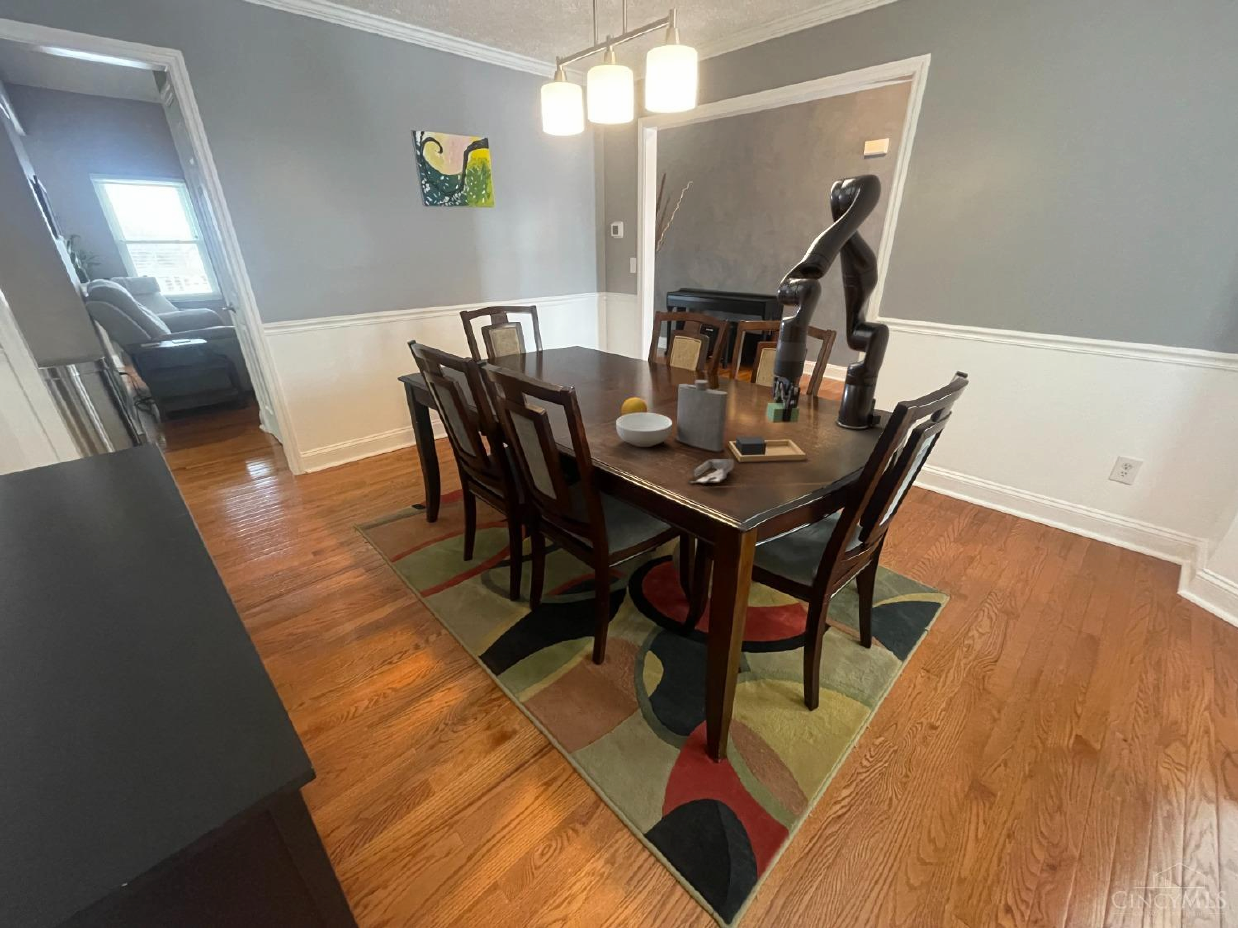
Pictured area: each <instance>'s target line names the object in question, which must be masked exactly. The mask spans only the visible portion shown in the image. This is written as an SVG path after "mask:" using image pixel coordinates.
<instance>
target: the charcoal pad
mask: <svg viewBox="0 0 1238 928" xmlns="http://www.w3.org/2000/svg"><path fill="white" fill-rule="evenodd" d="M735 438H736V439H735V441H736V448H737V449H738V451H739V452H740V453H741V455H765V452H766V444H767V443H766V442H765V441H764V440H765V439H763V438H762V437H761V436H759V435H758V436H736V437H735Z"/></svg>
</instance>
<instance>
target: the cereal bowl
mask: <svg viewBox="0 0 1238 928" xmlns="http://www.w3.org/2000/svg"><path fill="white" fill-rule="evenodd" d="M615 428H616V429H615V430H616V433H617V435H618V436H619V438H620V439H621V440H622V441H623V442H626V443H627V444H631V445H632V446H635V447H637V448H638V447H639V448H651V447H654V446H656V445H658V444H662V443H663V442H664V441H666V440H668V438H669V437H670V435H671V433H672V429H673V421H672V419H671V418H670V417H668V416H666V415H664V414H660V413H654V412H647V413H632V414H627V415H624V416H623V415H621V416H620V417H618V418H617V419H616V421H615Z"/></svg>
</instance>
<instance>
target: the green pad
mask: <svg viewBox="0 0 1238 928" xmlns="http://www.w3.org/2000/svg"><path fill="white" fill-rule="evenodd" d="M800 409H801V408H800V407H798V406H797V408H793V409H792V413H791V420H790V421H789V422H783V421H782V414H783V403H775V402H768V403H767V407H766V414H765V415H766V418H767V419H768V420H769V421H770V422H771V423H773V424H779V423H780V424H781V423H782V424H783V423H785V424H786V423H798V422H799V415H800Z"/></svg>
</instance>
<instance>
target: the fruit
mask: <svg viewBox="0 0 1238 928" xmlns="http://www.w3.org/2000/svg"><path fill="white" fill-rule="evenodd" d="M632 413H648V406H647V403H646V401H644V400H643V399H642V398H640V397H630V398H628V399H626V400H625V401H624V403H623V404H622V406H621V416H624V415H627V414H632Z"/></svg>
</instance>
